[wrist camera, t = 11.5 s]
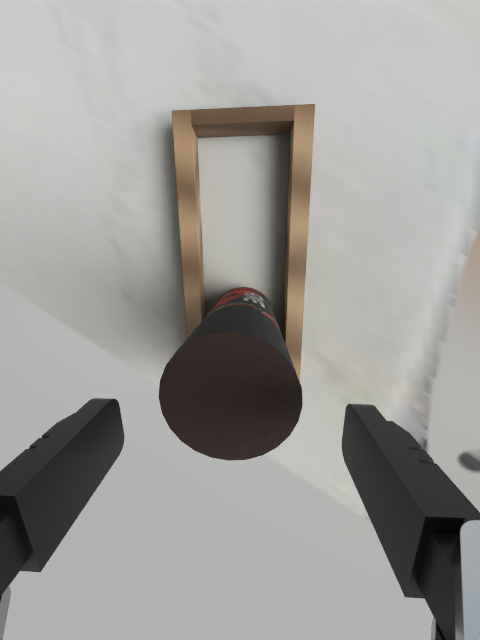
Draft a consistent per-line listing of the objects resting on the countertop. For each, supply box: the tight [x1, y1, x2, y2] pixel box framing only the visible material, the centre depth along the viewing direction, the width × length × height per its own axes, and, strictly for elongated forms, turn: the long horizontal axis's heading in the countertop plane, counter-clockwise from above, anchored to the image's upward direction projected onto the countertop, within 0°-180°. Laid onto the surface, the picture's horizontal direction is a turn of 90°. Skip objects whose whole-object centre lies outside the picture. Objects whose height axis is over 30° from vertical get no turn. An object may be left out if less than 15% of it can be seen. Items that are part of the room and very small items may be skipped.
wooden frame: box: [172, 104, 315, 381], centre depth 21 cm, size 23×11×4 cm, turn 1°
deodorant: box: [159, 287, 302, 460], centre depth 17 cm, size 6×6×15 cm
